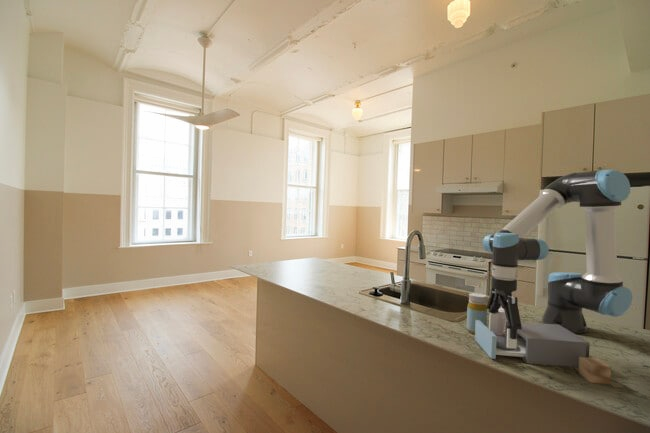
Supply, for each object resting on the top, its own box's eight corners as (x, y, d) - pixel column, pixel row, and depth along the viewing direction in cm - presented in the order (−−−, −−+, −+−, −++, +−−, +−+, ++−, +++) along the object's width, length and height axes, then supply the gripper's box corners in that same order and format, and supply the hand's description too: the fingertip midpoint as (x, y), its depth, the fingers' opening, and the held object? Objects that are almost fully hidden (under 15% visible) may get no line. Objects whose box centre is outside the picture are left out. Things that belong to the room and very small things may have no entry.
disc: (484, 339, 110) (484, 334, 110) (508, 340, 109) (508, 336, 109) (494, 349, 102) (494, 344, 102) (519, 351, 101) (519, 346, 101)
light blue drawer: (526, 343, 111) (527, 323, 111) (550, 363, 97) (551, 340, 96) (474, 339, 113) (475, 320, 113) (491, 358, 99) (492, 336, 99)
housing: (557, 346, 110) (558, 324, 110) (588, 367, 95) (589, 342, 95) (504, 342, 112) (505, 321, 112) (526, 363, 97) (527, 338, 97)
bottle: (488, 336, 117) (490, 298, 117) (469, 334, 119) (470, 296, 118) (483, 329, 124) (484, 293, 124) (464, 327, 125) (466, 291, 125)
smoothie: (506, 338, 116) (508, 301, 116) (487, 334, 119) (489, 298, 119) (507, 332, 121) (508, 297, 121) (488, 329, 125) (490, 295, 124)
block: (596, 374, 91) (597, 358, 91) (610, 384, 86) (611, 366, 86) (578, 373, 92) (579, 356, 92) (590, 382, 87) (591, 365, 87)
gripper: (478, 270, 117) (476, 324, 118) (510, 286, 93) (507, 355, 93) (499, 271, 116) (497, 325, 117) (536, 287, 92) (533, 357, 92)
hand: (501, 339), depth 105 cm, fingers open, 13 cm apart
